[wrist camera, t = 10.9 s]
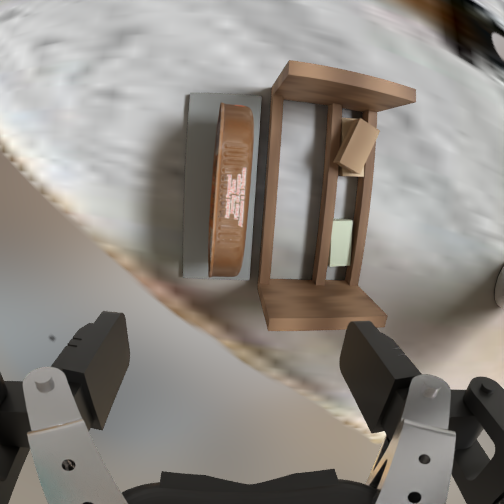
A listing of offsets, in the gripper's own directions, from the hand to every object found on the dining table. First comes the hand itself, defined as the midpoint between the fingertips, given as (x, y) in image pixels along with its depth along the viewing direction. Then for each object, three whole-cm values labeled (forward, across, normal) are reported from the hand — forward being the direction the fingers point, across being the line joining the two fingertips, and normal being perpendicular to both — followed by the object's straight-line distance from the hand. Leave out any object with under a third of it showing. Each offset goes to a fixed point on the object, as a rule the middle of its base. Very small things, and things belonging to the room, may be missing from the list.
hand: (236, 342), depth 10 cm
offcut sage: (+22, -12, +1) cm, 25 cm away
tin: (+22, 0, -4) cm, 22 cm away
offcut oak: (+20, -12, -9) cm, 25 cm away
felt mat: (+22, +1, -4) cm, 22 cm away
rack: (+22, -9, -4) cm, 24 cm away
